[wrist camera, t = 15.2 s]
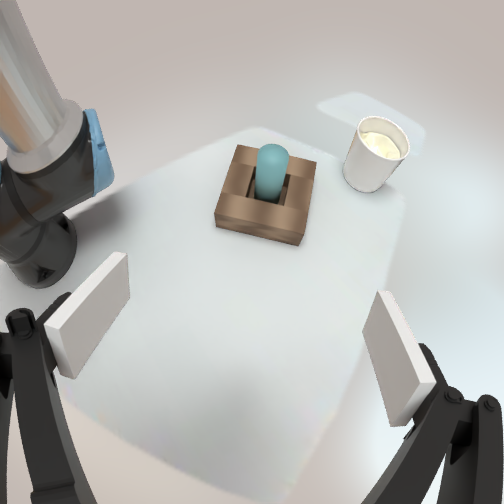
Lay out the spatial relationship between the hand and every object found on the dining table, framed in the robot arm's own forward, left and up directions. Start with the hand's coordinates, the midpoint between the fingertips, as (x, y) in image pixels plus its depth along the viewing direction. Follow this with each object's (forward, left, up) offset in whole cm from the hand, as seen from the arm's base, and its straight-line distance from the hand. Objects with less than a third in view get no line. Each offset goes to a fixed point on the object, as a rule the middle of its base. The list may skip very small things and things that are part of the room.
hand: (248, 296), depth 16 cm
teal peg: (-2, +24, -32) cm, 40 cm away
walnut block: (-2, +24, -33) cm, 41 cm away
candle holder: (+15, +35, -33) cm, 51 cm away
